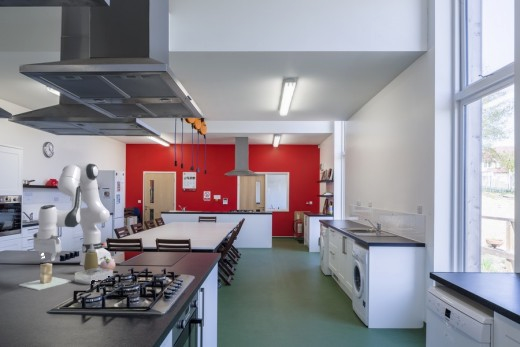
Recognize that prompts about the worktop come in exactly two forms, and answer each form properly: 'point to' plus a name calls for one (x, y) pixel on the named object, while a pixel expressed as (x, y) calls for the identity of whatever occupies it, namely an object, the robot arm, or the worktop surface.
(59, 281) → the sage pad
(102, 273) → the aluminium socket block
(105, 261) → the decorative fruit
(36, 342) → the worktop surface
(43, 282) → the birch peg
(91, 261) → the squeeze bottle
